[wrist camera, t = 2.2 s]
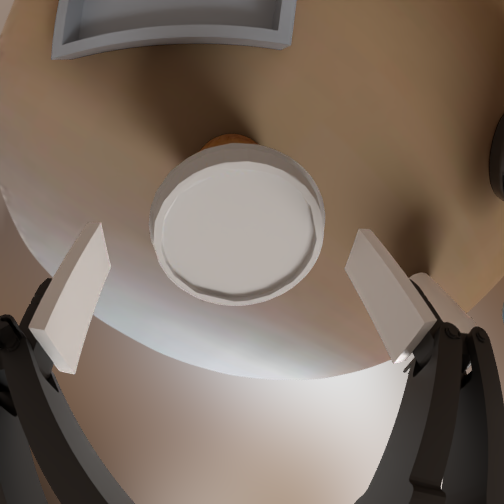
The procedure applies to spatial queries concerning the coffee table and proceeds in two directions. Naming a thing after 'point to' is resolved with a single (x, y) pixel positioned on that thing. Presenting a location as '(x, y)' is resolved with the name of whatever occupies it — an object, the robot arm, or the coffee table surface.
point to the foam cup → (443, 303)
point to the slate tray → (169, 24)
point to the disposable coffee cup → (237, 222)
